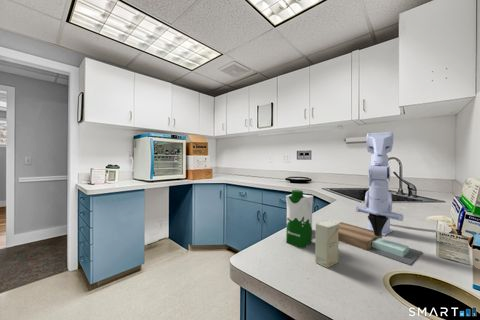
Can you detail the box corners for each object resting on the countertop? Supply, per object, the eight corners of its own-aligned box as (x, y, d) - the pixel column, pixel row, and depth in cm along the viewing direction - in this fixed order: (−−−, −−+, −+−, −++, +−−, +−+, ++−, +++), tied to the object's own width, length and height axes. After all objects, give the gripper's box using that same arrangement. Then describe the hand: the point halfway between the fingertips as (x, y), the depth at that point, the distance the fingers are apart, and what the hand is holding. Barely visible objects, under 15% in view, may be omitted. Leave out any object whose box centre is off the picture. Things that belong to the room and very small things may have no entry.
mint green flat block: (378, 242, 77) (378, 237, 77) (408, 252, 69) (408, 246, 69) (372, 246, 73) (372, 241, 73) (402, 257, 66) (403, 251, 66)
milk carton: (282, 242, 77) (283, 190, 76) (294, 236, 83) (295, 187, 83) (304, 250, 71) (305, 193, 70) (315, 242, 77) (316, 190, 77)
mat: (384, 241, 79) (384, 240, 79) (422, 252, 70) (422, 251, 70) (369, 251, 70) (369, 250, 70) (410, 265, 61) (410, 264, 61)
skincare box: (327, 268, 59) (328, 227, 59) (314, 262, 63) (314, 223, 63) (338, 262, 63) (339, 223, 63) (325, 256, 67) (326, 219, 66)
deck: (341, 228, 92) (341, 222, 92) (381, 240, 79) (382, 233, 79) (324, 235, 84) (324, 228, 84) (366, 250, 71) (366, 241, 71)
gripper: (352, 196, 78) (352, 231, 78) (399, 203, 66) (398, 245, 66) (360, 194, 82) (360, 227, 82) (405, 201, 70) (404, 239, 70)
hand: (377, 235), depth 74 cm, fingers closed
